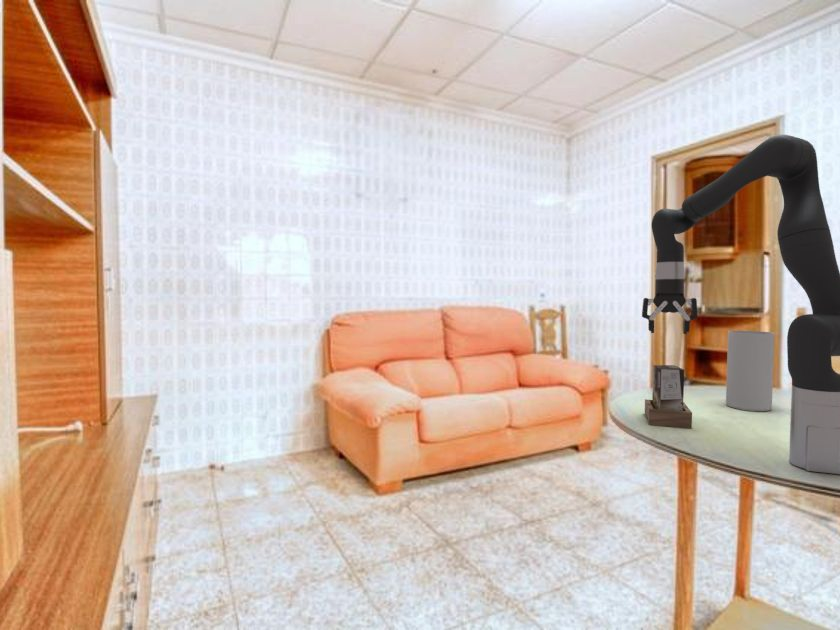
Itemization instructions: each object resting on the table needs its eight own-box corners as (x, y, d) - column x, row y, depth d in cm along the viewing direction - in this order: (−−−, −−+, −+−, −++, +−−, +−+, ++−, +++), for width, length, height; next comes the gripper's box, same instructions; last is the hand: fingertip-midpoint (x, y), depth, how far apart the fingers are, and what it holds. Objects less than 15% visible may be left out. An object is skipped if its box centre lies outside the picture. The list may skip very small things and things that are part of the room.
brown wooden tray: (691, 428, 132) (692, 412, 132) (648, 424, 136) (649, 409, 136) (683, 416, 145) (683, 402, 145) (644, 413, 149) (644, 399, 149)
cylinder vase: (726, 409, 155) (728, 332, 154) (725, 401, 166) (727, 330, 165) (774, 414, 149) (776, 334, 147) (769, 405, 159) (771, 331, 158)
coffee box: (683, 425, 135) (685, 369, 135) (659, 424, 137) (660, 368, 136) (674, 417, 144) (675, 364, 144) (651, 416, 146) (652, 364, 145)
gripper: (644, 278, 138) (643, 333, 139) (700, 277, 133) (698, 335, 133) (641, 278, 145) (640, 331, 146) (694, 278, 140) (693, 333, 141)
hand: (668, 333), depth 140 cm, fingers open, 8 cm apart
